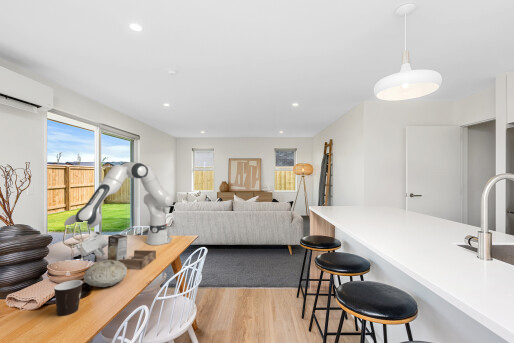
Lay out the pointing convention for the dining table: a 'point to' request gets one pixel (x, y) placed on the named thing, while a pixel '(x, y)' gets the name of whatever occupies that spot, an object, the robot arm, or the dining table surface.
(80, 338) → the dining table surface
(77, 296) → the coffee mug
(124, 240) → the coffee box
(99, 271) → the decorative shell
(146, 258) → the brown wooden tray
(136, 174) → the robot arm
